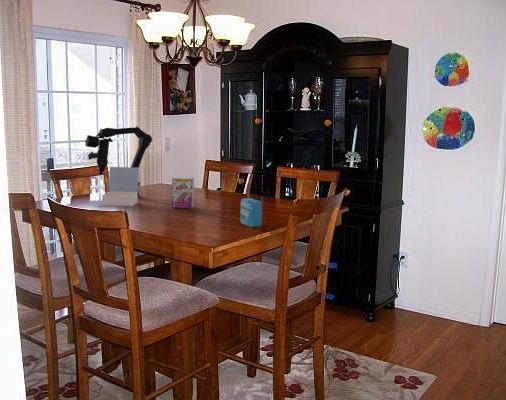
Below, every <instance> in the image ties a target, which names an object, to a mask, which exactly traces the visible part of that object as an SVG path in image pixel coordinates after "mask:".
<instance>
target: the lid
mask: <svg viewBox="0 0 506 400" xmlns="http://www.w3.org/2000/svg"><path fill="white" fill-rule="evenodd" d="M139 168H140V167H139ZM139 168H132V167H131V166H129V167H128V166H127V167H126V166H125V167H124V166H109V178H108V179H109V180H108V181H109V183H108V186H109V187H108V192H109V191H111V192H138V181H139V173H140V171H139V170H140V169H139Z"/></svg>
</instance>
